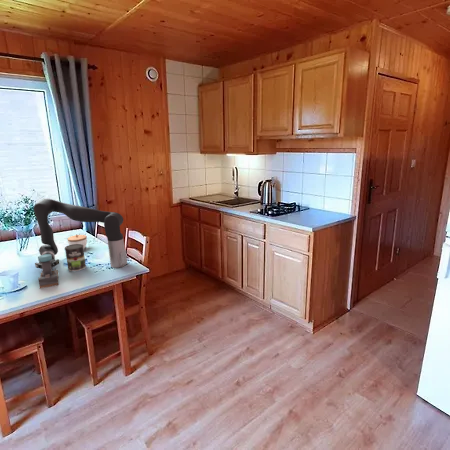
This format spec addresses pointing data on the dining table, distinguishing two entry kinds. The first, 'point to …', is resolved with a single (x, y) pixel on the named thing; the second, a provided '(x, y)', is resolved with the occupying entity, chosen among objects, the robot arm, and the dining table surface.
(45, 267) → the knob
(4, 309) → the dining table surface
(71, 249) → the coffee can
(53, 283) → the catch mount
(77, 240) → the lidded bowl
